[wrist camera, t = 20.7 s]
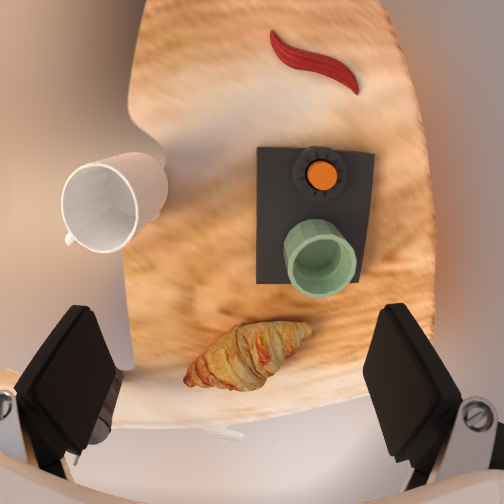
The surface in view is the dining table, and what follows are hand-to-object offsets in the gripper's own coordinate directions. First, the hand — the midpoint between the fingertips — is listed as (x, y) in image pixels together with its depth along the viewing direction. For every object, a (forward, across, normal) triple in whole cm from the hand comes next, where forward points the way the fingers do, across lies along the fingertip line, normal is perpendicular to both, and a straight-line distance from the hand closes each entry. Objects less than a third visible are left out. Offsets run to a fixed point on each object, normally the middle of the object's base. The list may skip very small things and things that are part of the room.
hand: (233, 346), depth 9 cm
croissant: (+25, +1, +24) cm, 35 cm away
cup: (+26, +14, +1) cm, 29 cm away
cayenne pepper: (+26, -7, -14) cm, 30 cm away
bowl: (+24, -8, +7) cm, 26 cm away
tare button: (+23, -8, -1) cm, 24 cm away
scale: (+25, -8, +4) cm, 27 cm away
